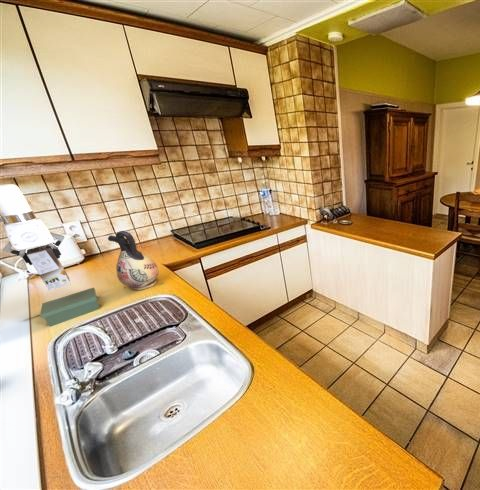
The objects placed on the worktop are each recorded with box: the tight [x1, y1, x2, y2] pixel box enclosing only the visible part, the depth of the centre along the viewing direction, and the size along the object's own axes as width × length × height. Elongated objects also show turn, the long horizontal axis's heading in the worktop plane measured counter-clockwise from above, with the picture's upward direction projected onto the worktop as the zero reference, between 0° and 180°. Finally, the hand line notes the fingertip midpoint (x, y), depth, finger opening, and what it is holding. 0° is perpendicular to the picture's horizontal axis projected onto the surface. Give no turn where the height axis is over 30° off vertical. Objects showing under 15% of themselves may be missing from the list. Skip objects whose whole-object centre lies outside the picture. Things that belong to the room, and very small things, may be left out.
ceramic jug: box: [107, 230, 159, 291], centre depth 127 cm, size 17×15×30 cm
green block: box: [39, 287, 101, 327], centre depth 114 cm, size 16×12×6 cm
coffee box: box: [26, 245, 71, 291], centre depth 107 cm, size 9×6×16 cm
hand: (45, 260), depth 106 cm, fingers closed on coffee box, 6 cm apart
